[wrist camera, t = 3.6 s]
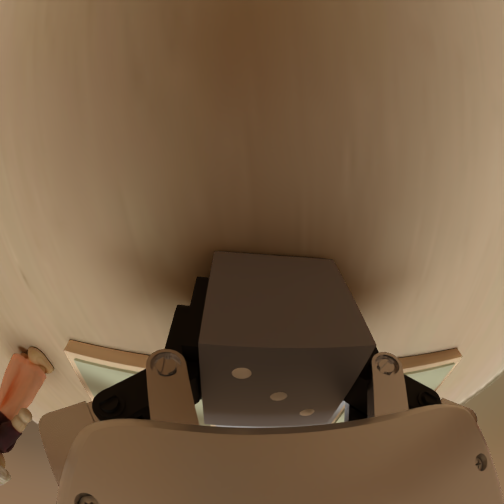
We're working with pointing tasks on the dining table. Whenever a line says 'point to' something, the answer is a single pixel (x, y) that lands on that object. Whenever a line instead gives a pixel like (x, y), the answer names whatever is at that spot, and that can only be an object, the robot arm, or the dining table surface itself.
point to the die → (278, 341)
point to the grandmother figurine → (19, 398)
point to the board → (127, 364)
